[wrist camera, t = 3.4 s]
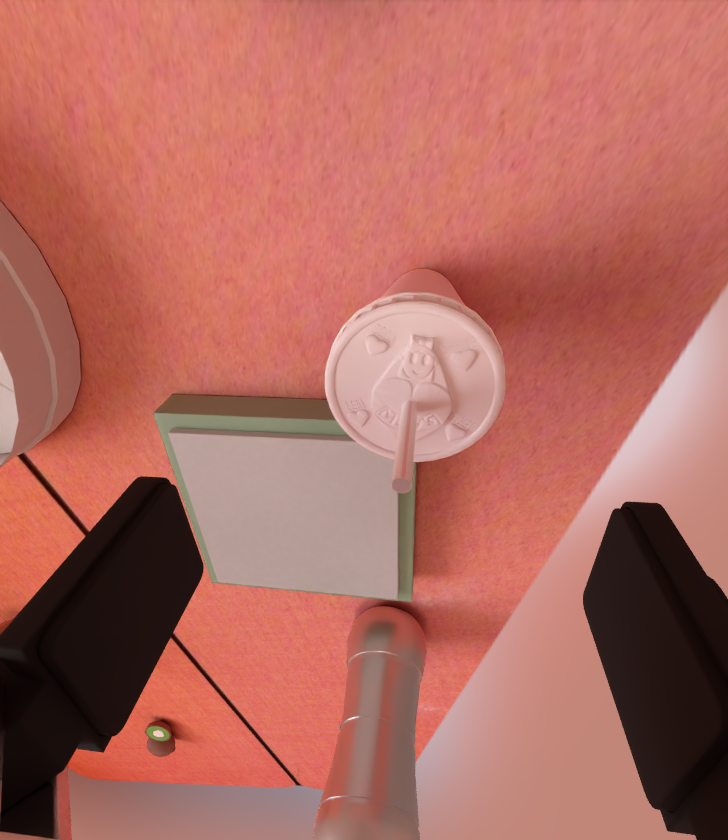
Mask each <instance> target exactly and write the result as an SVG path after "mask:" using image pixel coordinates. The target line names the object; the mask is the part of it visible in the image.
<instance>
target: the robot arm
mask: <svg viewBox="0 0 728 840" xmlns="http://www.w3.org/2000/svg"><path fill="white" fill-rule="evenodd" d="M202 574H203V562H202V559H201V556H200V553H199V550H198V548H197V545H196V542H195V539H194V536H193V533H192V530H191V528H190V525H189V522H188V519H187V516H186V513H185V510H184V508H183V505H182V502H181V499H180V496H179V493H178V490H177V488H176V486H174V485H172V484H171V483H170V481H169V480H168V479H167V478H161V477H142V476H141V477H138V478H137V479H136V480H134V481H133V483H132V484H131V485H130V486H129V487H128V488H127V489H126V491H125V492H124V493H123V494H122V495H121V496H120V498H119V499H118V500H117V501H116V502H115V503H114V504H113V506H112V507H111V508H110V509H109V510H108V511H107V512H106V514H105V515H104V516H103V517H102V518H101V519H100V521H99V522H98V523H97V524H96V525H95V526H94V527H93V529H92V530H91V531H90V532H89V533H88V534H87V535H86V537H85V538H84V539H83V540H82V541H81V542H80V544H79V545H78V546H77V547H76V548H75V549H74V550H73V552H72V553H71V554H70V555H69V556H68V557H67V559H66V560H65V561H64V562H63V563H62V564H61V565H60V567H59V568H58V569H57V570H56V571H55V572H54V573H53V575H52V576H51V577H50V578H49V579H48V580H47V582H46V583H45V584H44V585H43V586H42V587H41V588H40V590H39V591H38V592H37V593H36V594H35V595H34V596H33V598H32V599H31V600H30V601H29V602H28V603H27V605H26V606H25V607H24V608H23V609H22V610H21V611H20V613H19V614H18V615H17V616H16V617H15V618H14V619H13V621H12V622H11V623H10V624H9V625H8V626H7V628H6V629H5V630H4V631H3V632H2V633H1V634H0V840H72V837H71V836H72V835H71V819H70V800H69V783H68V765H67V764H68V762H69V761H70V759H71V757H72V755H73V754H74V752H75V750H76V749H77V748H78V749H82V750H89V751H97V752H104V751H105V749H106V747H107V745H108V743H109V741H110V739H111V737H112V736H115V735H117V734H118V733H119V732H120V731H121V730H122V729H123V727H124V725H125V724H126V722H127V720H128V718H129V716H130V714H131V712H132V710H133V708H134V706H135V704H136V703H137V701H138V699H139V697H140V695H141V693H142V691H143V689H144V687H145V685H146V683H147V681H148V680H149V678H150V676H151V674H152V672H153V670H154V668H155V666H156V664H157V662H158V660H159V658H160V657H161V655H162V653H163V651H164V649H165V647H166V645H167V643H168V641H169V639H170V637H171V635H172V633H173V632H174V630H175V628H176V626H177V624H178V622H179V620H180V618H181V616H182V614H183V612H184V610H185V609H186V607H187V605H188V603H189V601H190V599H191V597H192V595H193V593H194V591H195V589H196V587H197V586H198V584H199V582H200V580H201V577H202ZM583 605H584V610H585V614H586V616H587V620H588V623H589V625H590V629H591V632H592V635H593V638H594V641H595V644H596V647H597V650H598V653H599V656H600V659H601V662H602V665H603V668H604V671H605V674H606V677H607V680H608V683H609V686H610V689H611V692H612V695H613V698H614V701H615V704H616V707H617V710H618V713H619V716H620V719H621V722H622V725H623V728H624V731H625V734H626V738H627V741H628V744H629V746H630V749H631V753H632V756H633V759H634V762H635V765H636V768H637V771H638V774H639V777H640V780H641V783H642V786H643V789H644V792H645V794H646V797H647V799H648V801H649V803H650V804H651V806H652V807H653V808H655V809H658V810H660V811H661V814H662V817H663V820H664V822H665V825H666V828H667V831H670V832H677V833H685V834H691V835H695V836H696V839H697V840H728V599H727V597H726V596H725V594H724V593H723V591H722V589H721V588H720V587H719V586H718V584H717V583H716V582H715V581H714V580H713V579H711V578H710V577H709V576H707V575H706V573H705V572H704V570H703V569H702V567H701V565H700V564H699V562H698V561H697V559H696V558H695V556H694V555H693V553H692V551H691V550H690V548H689V547H688V545H687V543H686V542H685V540H684V539H683V537H682V536H681V534H680V533H679V531H678V529H677V528H676V526H675V525H674V523H673V522H672V520H671V519H670V517H669V515H668V514H667V512H666V511H665V509H664V508H663V507H662V506H661V505H660V504H658V503H644V502H642V503H641V502H625V503H624V504H623V505H622V507H621V509H614V510H613V512H612V514H611V517H610V519H609V522H608V525H607V528H606V531H605V534H604V537H603V539H602V542H601V545H600V548H599V551H598V553H597V557H596V559H595V562H594V565H593V568H592V571H591V574H590V576H589V579H588V582H587V585H586V588H585V590H584V594H583Z"/></svg>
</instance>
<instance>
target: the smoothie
mask: <svg viewBox="0 0 728 840" xmlns="http://www.w3.org/2000/svg"><path fill="white" fill-rule="evenodd" d="M325 392H326V397H327V401H328V404H329V407H330V409H331V411H332V414H333V415H334V417H335V419H336V421H337V422H338V423H339V425H340V426H341V427H342V429H343V430H344V431H345V432H346V433H347V434H348V435H349V436H350V437H351V438H352V439H353V440H355V441H356V442H357V443H359V444H360V445H361V446H363V447H365V448H366V449H368V450H370V451H372V452H374V453H376V454H378V455H381V456H384V457H387V458H391V459H395V461H394V468H393V475H392V483H391V486H392V489H393V490H394V491H396V492H398V493H406V492H408V491H410V490H411V487H412V475H413V462H425V461H433V460H439V459H443V458H446V457H449V456H452V455H455V454H457V453H459V452H461V451H463V450H465V449H467V448H468V447H470V446H471V445H473V444H474V443H476V442H477V441H478V440H479V439H480V438H482V437H483V436H484V434H485V433H486V432H487V431H488V430H489V429H490V428H491V426H492V425H493V423H494V422H495V420H496V419H497V417H498V415H499V413H500V411H501V408H502V405H503V402H504V398H505V392H506V373H505V365H504V359H503V352H502V349H501V347H500V345H499V343H498V341H497V339H496V337H495V335H494V332H493V330H492V329H491V328H490V327H489V326H488V325H487V324H486V323H485V321H484V320H483V319H482V318H481V317H480V316H479V315H478V314H477V313H476V312H475V311H473V310H472V309H470V308H468V307H467V306H465V305H464V303H463V302H462V300H461V298H460V297H459V295H458V294H457V292H456V291H455V289H454V287H453V286H452V284H451V283H450V282H449V280H448V279H447V278H446V277H444V276H443V275H442V274H440V273H438V272H436V271H433V270H430V269H416V270H412V271H409V272H407V273H405V274H403V275H402V276H400V277H399V278H398V279H397V280H396V281H395V282H394V283H393V284H392V285H391V286H390V288H389V289H388V290H387V291H386V292H385V293H384V294H383V295H382V296H381V297H380V298H379V299H377V300H375V301H374V302H372V303H370V304H368V305H367V306H365V307H363V308H361V309H360V310H358V311H357V312H356V313H355V314H354V315H353V316H352V317H351V318H350V319H349V320H348V321H347V322H346V323H345V324H344V325H343V326H342V327H341V329H340V331H339V333H338V335H337V337H336V339H335V341H334V342H333V344H332V346H331V351H330V355H329V357H328V360H327V364H326V369H325Z"/></svg>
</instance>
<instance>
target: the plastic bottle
mask: <svg viewBox="0 0 728 840" xmlns="http://www.w3.org/2000/svg"><path fill="white" fill-rule="evenodd" d="M425 659H426V645H425V638H424V633H423V631H422V629H421V627H420V625H419V624H418V622H417V621H416V620H415V618H414V617H412V616H411V615H410V614H408V613H407V612H405V611H403V610H400V609H397V608H394V607H388V606H378V607H373V608H369V609H367V610H365V611H364V612H363V613H362V614H361V615H359V616H358V617H357V618H356V620H355V621H354V623H353V626H352V628H351V631H350V634H349V637H348V641H347V679H346V689H345V700H344V710H343V716H342V721H341V725H340V733H339V735H338V739H337V744H336V749H335V753H334V758H333V762H332V765H331V769H330V772H329V775H328V779H327V782H326V785H325V789H324V792H323V796H322V799H321V802H320V809H319V810H318V812H317V816H316V821H315V825H314V829H313V840H420V833H419V830H418V827H419V820H418V806H417V793H416V779H415V747H414V745H415V723H416V714H417V706H418V697H419V688H420V682H421V680H422V676H423V672H424V665H425Z"/></svg>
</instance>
